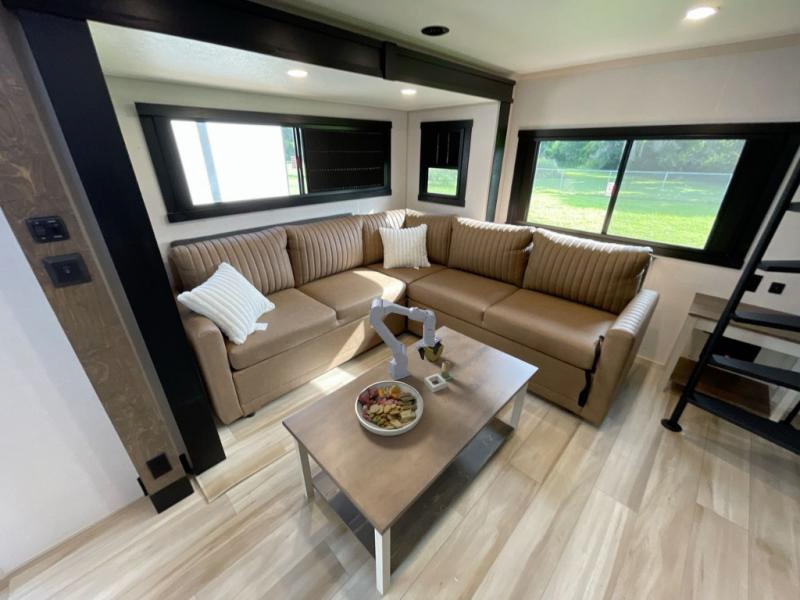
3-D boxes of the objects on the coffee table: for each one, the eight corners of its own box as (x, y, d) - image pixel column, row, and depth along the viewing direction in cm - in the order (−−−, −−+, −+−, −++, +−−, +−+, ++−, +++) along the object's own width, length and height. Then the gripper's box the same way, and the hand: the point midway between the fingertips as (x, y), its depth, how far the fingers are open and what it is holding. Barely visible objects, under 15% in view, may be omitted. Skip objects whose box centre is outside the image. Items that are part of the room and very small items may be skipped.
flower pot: (443, 358, 173) (444, 345, 169) (433, 365, 168) (434, 351, 164) (431, 351, 179) (432, 338, 175) (421, 357, 173) (422, 344, 170)
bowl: (428, 395, 148) (429, 382, 144) (414, 447, 122) (415, 433, 118) (369, 383, 155) (369, 371, 151) (344, 430, 129) (343, 417, 125)
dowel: (444, 379, 157) (445, 366, 153) (439, 374, 160) (440, 362, 156) (450, 377, 158) (451, 364, 155) (446, 372, 162) (447, 360, 158)
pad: (443, 381, 156) (443, 381, 156) (436, 374, 160) (436, 374, 160) (452, 378, 158) (453, 377, 158) (446, 371, 163) (446, 370, 163)
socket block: (432, 392, 149) (433, 387, 147) (424, 382, 155) (424, 378, 154) (446, 387, 152) (446, 382, 151) (437, 377, 158) (437, 373, 157)
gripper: (420, 342, 145) (420, 365, 151) (445, 333, 151) (444, 356, 157) (413, 335, 151) (413, 357, 157) (437, 327, 157) (437, 349, 163)
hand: (428, 356), depth 157 cm, fingers open, 7 cm apart
